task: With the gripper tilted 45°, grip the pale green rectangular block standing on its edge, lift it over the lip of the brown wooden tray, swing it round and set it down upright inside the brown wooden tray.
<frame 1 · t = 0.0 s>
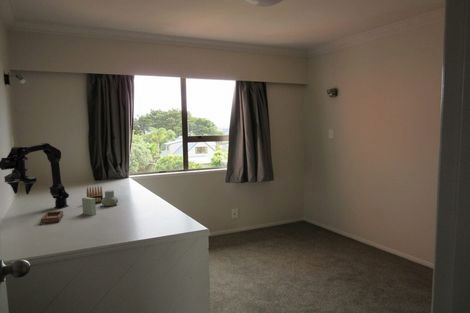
hand: (21, 193, 197), 15 cm above the table, tool pointing down, fingers open, 9 cm apart
pale green rectangular block: (89, 214, 204), on the table
ammunition clip: (95, 203, 234), on the table
brown wooden tray: (52, 219, 193), on the table
air freshener: (110, 205, 227), on the table
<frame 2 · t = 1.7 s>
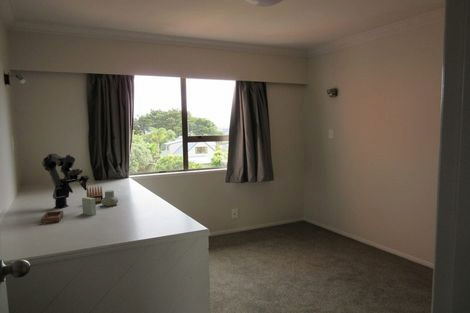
hand: (79, 191, 208), 13 cm above the table, tool tilted 45°, fingers open, 9 cm apart
nothing on the table moved.
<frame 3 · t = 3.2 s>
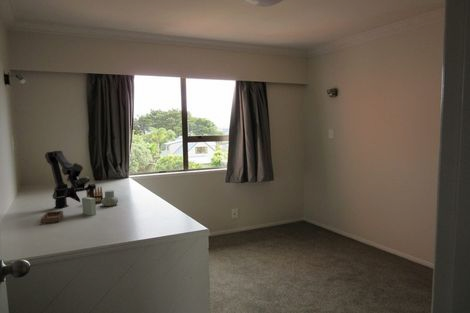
hand: (86, 200, 205), 8 cm above the table, tool tilted 45°, fingers open, 9 cm apart
nothing on the table moved.
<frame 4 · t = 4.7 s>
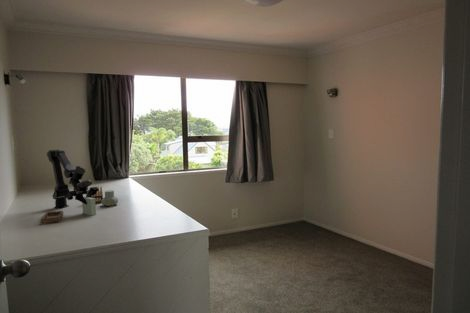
hand: (89, 203, 204), 7 cm above the table, tool tilted 45°, fingers closed on pale green rectangular block, 3 cm apart
pale green rectangular block: (89, 213, 204), on the table, touching gripper
everything else where it was.
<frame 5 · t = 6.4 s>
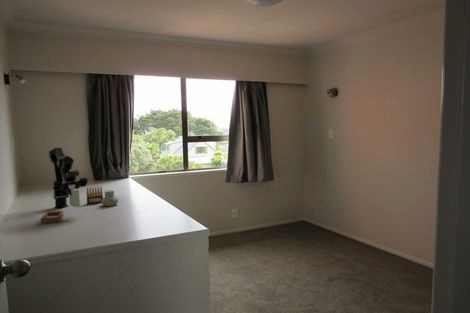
hand: (74, 194, 197), 13 cm above the table, tool tilted 45°, fingers closed on pale green rectangular block, 3 cm apart
pale green rectangular block: (74, 205, 198), point 7 cm above the table, touching gripper
everything else where it was.
when the fingers open (9 cm above the table, at t = 8.3 s): pale green rectangular block drops 1 cm, resting on brown wooden tray.
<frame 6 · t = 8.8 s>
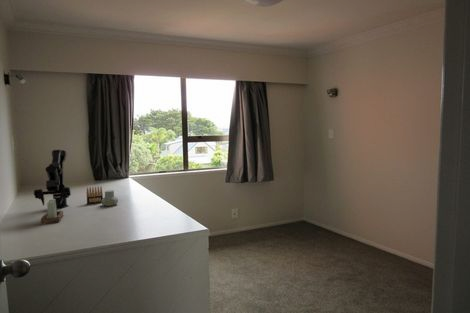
hand: (51, 204, 191), 9 cm above the table, tool tilted 45°, fingers open, 8 cm apart
pale green rectangular block: (52, 218, 192), point 1 cm above the table, touching brown wooden tray
everything else where it was.
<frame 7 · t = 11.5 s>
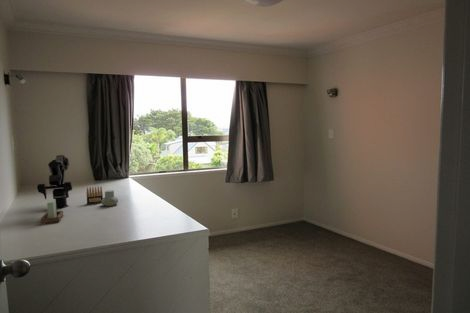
hand: (54, 198, 200), 11 cm above the table, tool tilted 45°, fingers open, 9 cm apart
nothing on the table moved.
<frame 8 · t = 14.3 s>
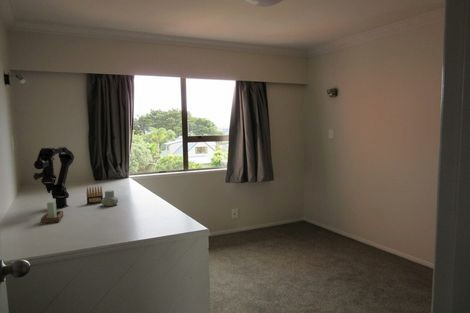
hand: (50, 191, 211), 13 cm above the table, tool pointing down, fingers open, 9 cm apart
nothing on the table moved.
at the end: pale green rectangular block inside the target area on the brown wooden tray (0.0 cm from its centre), point 1.0 cm above the brown wooden tray's base; pale green rectangular block tilted 0°; the gripper is holding nothing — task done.
